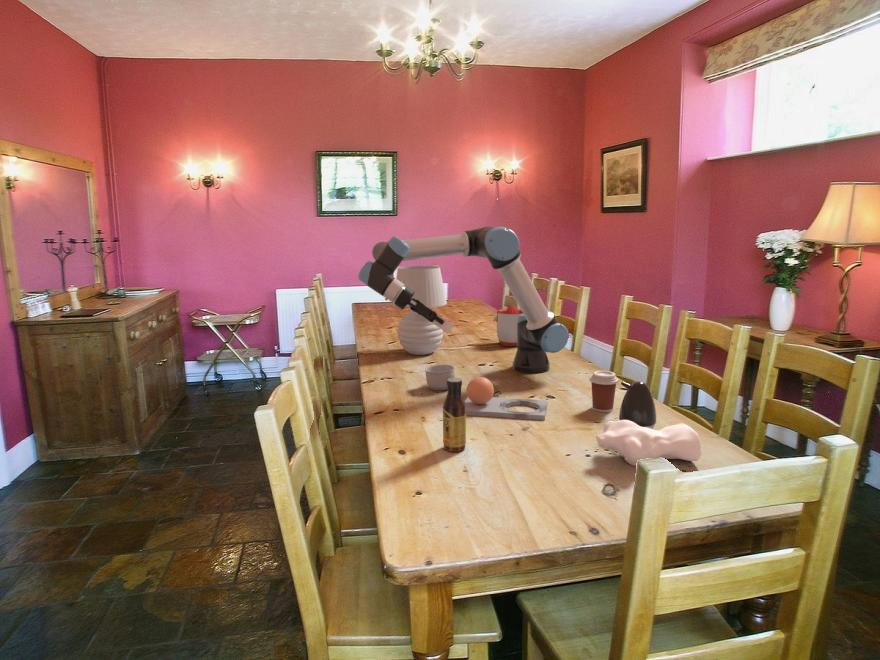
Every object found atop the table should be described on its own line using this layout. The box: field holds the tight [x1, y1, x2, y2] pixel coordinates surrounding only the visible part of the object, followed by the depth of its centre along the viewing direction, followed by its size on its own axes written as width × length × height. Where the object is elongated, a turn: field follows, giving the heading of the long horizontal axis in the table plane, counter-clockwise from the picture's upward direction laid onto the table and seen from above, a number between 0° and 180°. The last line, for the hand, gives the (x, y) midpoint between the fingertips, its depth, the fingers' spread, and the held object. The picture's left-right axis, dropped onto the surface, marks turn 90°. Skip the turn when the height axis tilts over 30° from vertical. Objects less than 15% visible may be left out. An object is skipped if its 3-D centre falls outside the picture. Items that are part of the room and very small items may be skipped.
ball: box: [466, 376, 495, 404], centre depth 188 cm, size 9×9×9 cm
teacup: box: [424, 363, 456, 392], centre depth 212 cm, size 14×11×8 cm
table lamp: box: [391, 265, 448, 356], centre depth 265 cm, size 25×25×40 cm
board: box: [464, 396, 548, 421], centre depth 187 cm, size 27×15×2 cm, turn 76°
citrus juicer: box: [492, 304, 523, 347], centre depth 280 cm, size 16×17×20 cm
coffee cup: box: [588, 370, 620, 413], centre depth 185 cm, size 9×9×12 cm
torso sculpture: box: [595, 419, 702, 467], centre depth 146 cm, size 18×10×25 cm
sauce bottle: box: [442, 377, 467, 453], centre depth 154 cm, size 6×6×20 cm
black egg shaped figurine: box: [618, 381, 657, 430], centre depth 164 cm, size 10×10×15 cm
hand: (450, 329), depth 195 cm, fingers open, 13 cm apart
